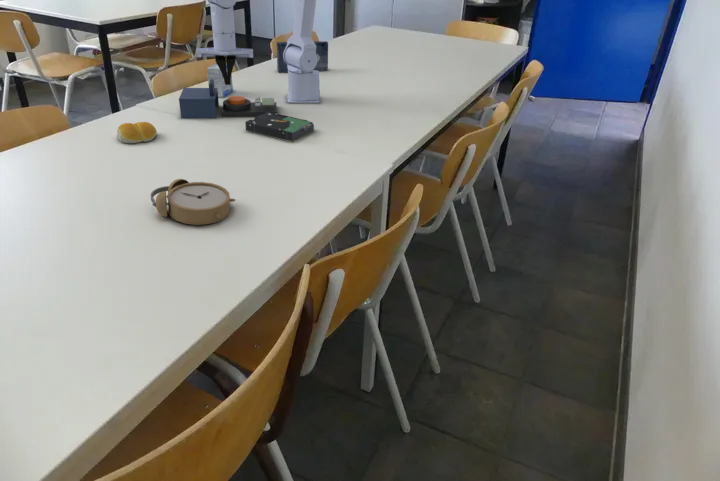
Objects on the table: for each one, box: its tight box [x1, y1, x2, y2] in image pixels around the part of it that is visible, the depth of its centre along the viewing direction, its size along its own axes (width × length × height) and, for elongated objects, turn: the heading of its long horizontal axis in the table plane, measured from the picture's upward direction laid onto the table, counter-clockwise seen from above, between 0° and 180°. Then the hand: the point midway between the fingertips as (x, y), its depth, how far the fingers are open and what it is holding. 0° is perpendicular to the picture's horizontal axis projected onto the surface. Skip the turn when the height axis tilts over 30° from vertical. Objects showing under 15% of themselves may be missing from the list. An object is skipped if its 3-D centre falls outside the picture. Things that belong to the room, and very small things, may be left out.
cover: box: [178, 79, 220, 119], centre depth 151 cm, size 9×11×9 cm
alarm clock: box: [150, 178, 236, 226], centre depth 103 cm, size 11×5×15 cm
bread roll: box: [116, 121, 158, 144], centre depth 134 cm, size 8×9×4 cm
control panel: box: [221, 98, 278, 118], centre depth 155 cm, size 15×9×3 cm, turn 99°
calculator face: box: [254, 96, 275, 106], centre depth 154 cm, size 5×8×1 cm, turn 9°
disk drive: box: [245, 112, 315, 142], centre depth 142 cm, size 10×3×15 cm
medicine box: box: [206, 62, 234, 98], centre depth 167 cm, size 8×4×9 cm, turn 168°
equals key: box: [227, 95, 246, 105], centre depth 153 cm, size 5×5×1 cm
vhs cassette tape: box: [276, 40, 329, 74], centre depth 195 cm, size 18×3×10 cm, turn 108°
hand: (227, 83), depth 150 cm, fingers closed
